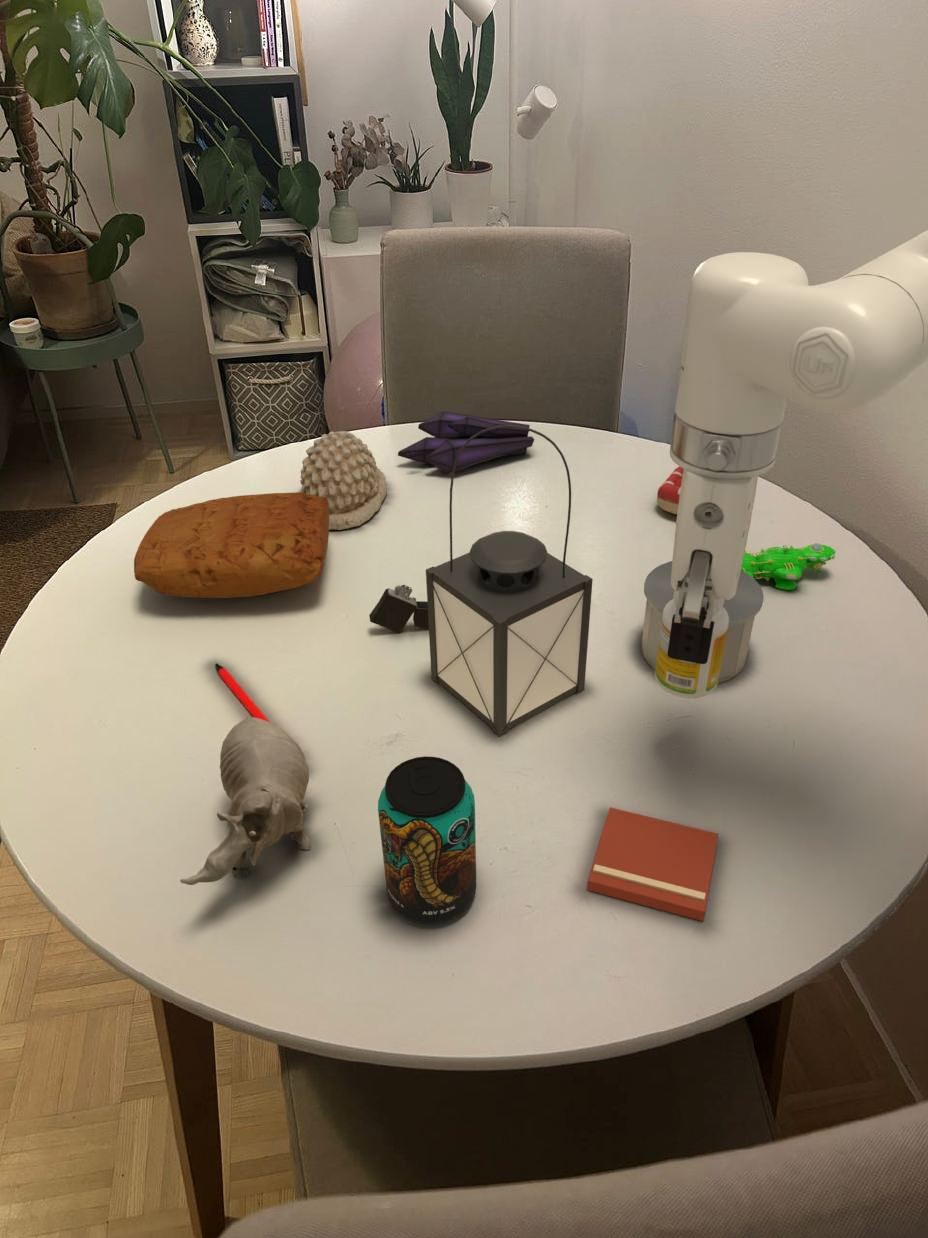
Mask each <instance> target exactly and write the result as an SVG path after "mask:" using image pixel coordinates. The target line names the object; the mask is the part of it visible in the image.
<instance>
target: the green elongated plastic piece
mask: <svg viewBox="0 0 928 1238" xmlns="http://www.w3.org/2000/svg"><path fill="white" fill-rule="evenodd" d="M835 558H836V549H834V548H832V547H830V546H829V545H826V544H822V543H817V542H816V543H811V544H809V545H807V546H802V547H800V548H799V547H797V548H795V547H794V546H793V545H790V546H789V547H788V545H782V547H780V546H772V547H768V548H766V549H764V548H761V549H760V551H759V552H750V553H748V552H747V551H746V550H745V553H744V557H743V562H742V567H741V570H742V571H744V572H746V573H747V574H749V575H750V576H751V577H753V578H754V579H755V580H757V579H758V580H760V579H765V580H766V581H767V582H769V581H770V579H772V578H773V579H774V582H775V586H774V588H777V589H780V590H784V591H793V590H795V589H796V588H797V586H798V585H797V583H796V581H798V580H799V581H800V579H801V578H802V575H803V572H804V571H805V570H806V568H808V569H810V570H812V571H813V572H815V573H820V572H821V571H822V570H820V568H822V567H823V566H826V565H827V562H829V561H831V560H834V559H835ZM821 573H822V572H821Z"/></svg>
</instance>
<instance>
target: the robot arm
mask: <svg viewBox="0 0 928 1238" xmlns="http://www.w3.org/2000/svg"><path fill="white" fill-rule="evenodd" d="M809 284H810V283H809V279H808V275H807V272H806V271H805V269H804V268H803V266H801V265H800V264H799V263H797V262H796V261H794V260H792V259H789V258H787V257H784V256H781V255H777V254H773V253H767V252H754V251H751V252H750V251H745V252H744V251H737V252H729V253H722V254H719V255H715V256H712V257H709V258H708V259H706V260H705V261H703V262H701V264H700V265H698V267H697V268H696V270H695V272H694V274H693V275H692V277H691V280H690V284H689V285H690V286H689V291H688V299H687V306H686V307H687V308H686V314H685V315H686V316H685V323H684V332H683V339H682V349H681V355H680V365H679V372H678V379H677V380H678V381H677V390H676V397H675V407H674V413H673V420H672V429H671V438H670V445H669V457H670V458H671V460H672V461H673V463H675V465H677V467H679V466H680V467H682V468H683V476H682V483H681V490H680V498H679V506H678V513H677V514H676V523H675V531H674V540H673V549H672V559H671V561H672V572H671V586H672V587H673V589H674V590H675V591H678V589H679V596H678V602H677V607H676V613H675V615H674V614H673V618H672V625H671V632H670V639H669V646H668V653H667V655H668V657H670V658H672V659H677V660H683V661H688V662H693V663H698V664H706V663H707V661H708V656H709V650H710V645H711V639H712V633H713V627H714V622H713V621H711V619H712V613H713V608H714V603H715V597H716V595H717V598H724V599H725V600H730V599H731V598H733V597H734V596H735V594H736V590H737V585H738V581H739V576H740V571H741V567H742V562H743V557H744V553H745V551H746V547H747V542H748V537H749V532H750V527H751V521H752V516H753V510H754V505H755V499H756V494H757V487H758V481H759V476H762V475H764V474H766V473H768V472H769V471H770V470H772V468H773V467H774V466H775V464H776V459H777V454H778V449H779V444H780V438H781V433H782V429H783V423H784V418H785V414H786V409H787V403H788V400H789V401H790V402H792V403H795V404H796V405H799V406H801V407H804V408H806V409H808V410H811V411H815V412H817V413H818V412H819V413H822V414H829V415H847V414H852V413H855V412H859V411H862V410H864V409H866V408H868V407H870V406H871V405H873V404H875V403H877V402H878V401H879V400H880V399H882V398H884V397H885V396H886V394H888V393H889V392H891V390H893V389H894V388H895V387H896V386H897V385H898V384H899V383H901V382H902V381H903V380H905V379H906V378H907V376H909V375H910V374H911V373H912V372H913V371H915V370H916V369H918V367H921V365H923V364H924V363H925V362H926V361H928V229H926V230H925V231H923V232H921V233H919V234H918V235H916V236H914V237H913V238H910V239H908V240H907V241H905V242H903V243H902V244H900V245H898V246H896V247H894V248H892V249H891V250H889V251H886V252H885V253H883V254H882V255H879V256H878V257H876V258H874V259H872V260H870V261H868V262H867V263H864V264H862V265H861V266H858V267H857V268H855V269H853V270H852V271H850V272H848V273H847V274H845V275H843V276H841V277H839V278H838V279H836V280H832V281H827V282H824V283H820V284H813V285H809ZM687 577H689V583H687ZM706 581H712V584H713V585H712V587H710V586H706ZM703 596H704V597H708V601H707V606H706V609H705V607H702V602H703ZM705 610H706V611H705Z"/></svg>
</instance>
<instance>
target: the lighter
mask: <svg viewBox="0 0 928 1238" xmlns="http://www.w3.org/2000/svg"><path fill="white" fill-rule="evenodd" d="M412 593H413V588H412V587H411V586H408V585H406V584H402V585H396V586H395V587H394V589H393V588H390V587H388V588H386V589H385V590H384V592H383V593H382V595H381V597H380V599H379V601H378V602H377V603H376V605H375V606H374V607H373V609H372V610H371V612H370V613H369V615H368V616H369V622H370V623H372V624H375V625H378V626H380V627H383V628H385V629H388V630H391V631H393V632H396V633H397V634H400V633H401V632H402V631H403V629H404V628H405V626H406V625H407V624H408V622H409V620H410V619H411V618H412V621H413V626H415V627H417V628H421V629H428V630H429V622H428V603H427V601H421V600H420V601H419V600H417V598H416V597H411V594H412Z"/></svg>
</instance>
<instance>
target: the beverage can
mask: <svg viewBox="0 0 928 1238" xmlns="http://www.w3.org/2000/svg"><path fill="white" fill-rule="evenodd" d="M379 794H380V795H379V797H378V801H377V812H378V822H379V831H380V840H381V851H382V858H383V859H382V860H383V867H384V876H385V885H386V893H387V896H388V899H389V902H390V904H391V906H392V907H393V908H394V909H395V910H396V911H397V912H398V913H399V914H400V915H402V916H403V917H404V918H406V919H408V920H411V921H413V922H416V923H421V924H438V923H444V922H447V921H449V920H453V919H454V918H456V917H457V916H459V915H460V914H462V913H463V912H464V911H465V910H466V909H468V907H469V906H470V904H471V903H472V902H473V900H474V897H475V895H476V891H477V886H478V885H477V845H476V844H477V841H476V840H477V839H476V836H477V835H476V801H475V794H474V791H473V789H472V787H471V786H470V784H469V783H468V781H467V780H466V779H465V777H464V774H463V772H462V771H461V769H460V768H459V767H458V766H457V765H456V764H455V763H453V762H451V761H449V760H447V759H444V758H442V757H438V756H437V757H436V756H428V755H427V756H425V755H424V756H417V757H413V758H410V759H407V760H404V761H403V762H400V763H399V764H398V765H396V766H395V767H394V768H393V769H392V770H391V771H390V772H389V774H388V776H387V777H386V780H385V784H384V786H383V788H382V790H381V791H380V793H379Z"/></svg>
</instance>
